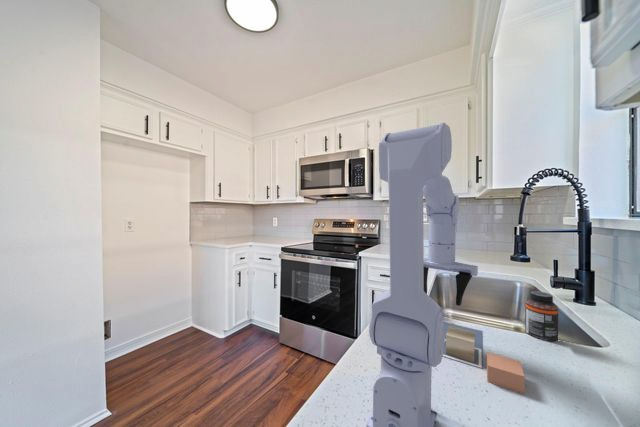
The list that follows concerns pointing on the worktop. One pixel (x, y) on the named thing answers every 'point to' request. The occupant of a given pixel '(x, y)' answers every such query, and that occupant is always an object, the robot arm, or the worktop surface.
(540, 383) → the worktop surface
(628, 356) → the worktop surface
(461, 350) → the cream block
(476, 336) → the board
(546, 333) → the supplement bottle
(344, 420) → the worktop surface
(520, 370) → the terracotta block
